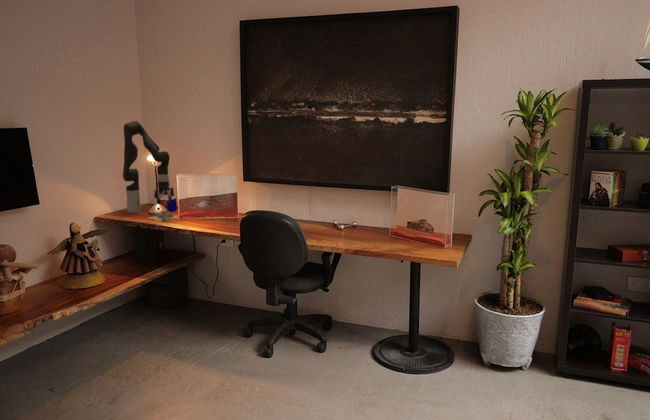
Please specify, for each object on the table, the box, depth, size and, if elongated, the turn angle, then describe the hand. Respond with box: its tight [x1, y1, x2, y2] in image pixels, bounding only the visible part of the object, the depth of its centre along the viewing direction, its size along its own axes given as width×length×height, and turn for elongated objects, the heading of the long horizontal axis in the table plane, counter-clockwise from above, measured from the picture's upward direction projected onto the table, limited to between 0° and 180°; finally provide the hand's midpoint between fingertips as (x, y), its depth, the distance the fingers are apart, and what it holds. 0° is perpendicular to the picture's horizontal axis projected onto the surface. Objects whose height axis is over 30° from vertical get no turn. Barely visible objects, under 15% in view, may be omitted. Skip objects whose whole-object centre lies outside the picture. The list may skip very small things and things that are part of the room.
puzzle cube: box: [160, 196, 178, 213], centre depth 400 cm, size 10×10×10 cm
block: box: [160, 211, 171, 222], centre depth 367 cm, size 4×4×7 cm
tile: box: [156, 213, 174, 218], centre depth 379 cm, size 2×8×9 cm
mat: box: [148, 215, 178, 222], centre depth 378 cm, size 16×16×1 cm
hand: (164, 203), depth 365 cm, fingers open, 8 cm apart
